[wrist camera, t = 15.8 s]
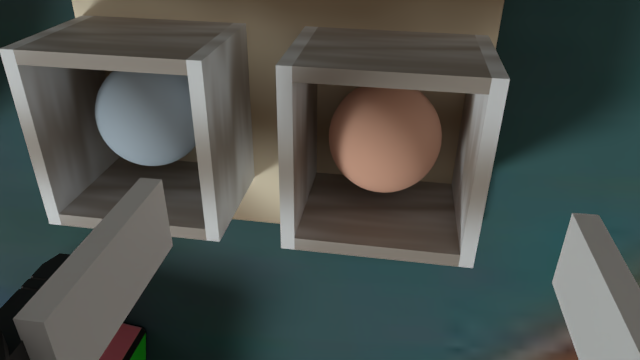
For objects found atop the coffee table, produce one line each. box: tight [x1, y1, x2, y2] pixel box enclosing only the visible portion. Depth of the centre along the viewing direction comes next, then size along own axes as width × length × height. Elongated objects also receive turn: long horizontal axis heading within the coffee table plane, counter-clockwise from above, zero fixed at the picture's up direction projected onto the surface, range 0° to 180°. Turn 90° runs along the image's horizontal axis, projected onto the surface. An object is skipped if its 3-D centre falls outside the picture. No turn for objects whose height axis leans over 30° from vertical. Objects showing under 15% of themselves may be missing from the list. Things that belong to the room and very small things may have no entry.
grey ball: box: [95, 71, 196, 166], centre depth 25 cm, size 5×5×5 cm
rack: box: [0, 0, 510, 268], centre depth 24 cm, size 14×20×7 cm
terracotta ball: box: [329, 87, 442, 193], centre depth 24 cm, size 5×5×5 cm
